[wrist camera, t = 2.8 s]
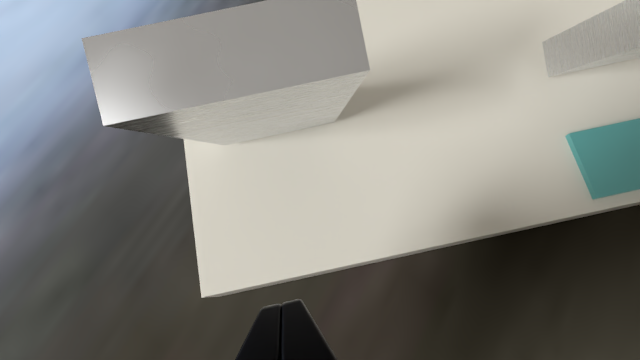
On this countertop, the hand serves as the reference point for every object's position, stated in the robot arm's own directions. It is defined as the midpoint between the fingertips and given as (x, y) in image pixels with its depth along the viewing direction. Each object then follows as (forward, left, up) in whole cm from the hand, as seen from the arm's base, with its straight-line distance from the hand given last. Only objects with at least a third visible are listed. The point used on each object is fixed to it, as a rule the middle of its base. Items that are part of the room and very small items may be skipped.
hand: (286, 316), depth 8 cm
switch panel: (0, -11, -10) cm, 15 cm away
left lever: (+6, -6, -7) cm, 11 cm away
